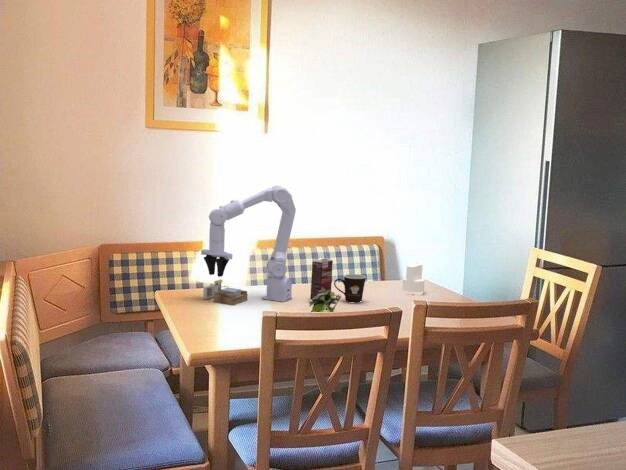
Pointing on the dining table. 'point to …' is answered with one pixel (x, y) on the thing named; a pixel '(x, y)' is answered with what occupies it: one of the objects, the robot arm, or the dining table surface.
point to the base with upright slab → (413, 279)
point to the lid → (231, 291)
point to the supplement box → (321, 276)
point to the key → (212, 289)
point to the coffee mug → (353, 287)
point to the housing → (230, 298)
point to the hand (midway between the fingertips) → (216, 275)
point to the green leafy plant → (324, 301)
